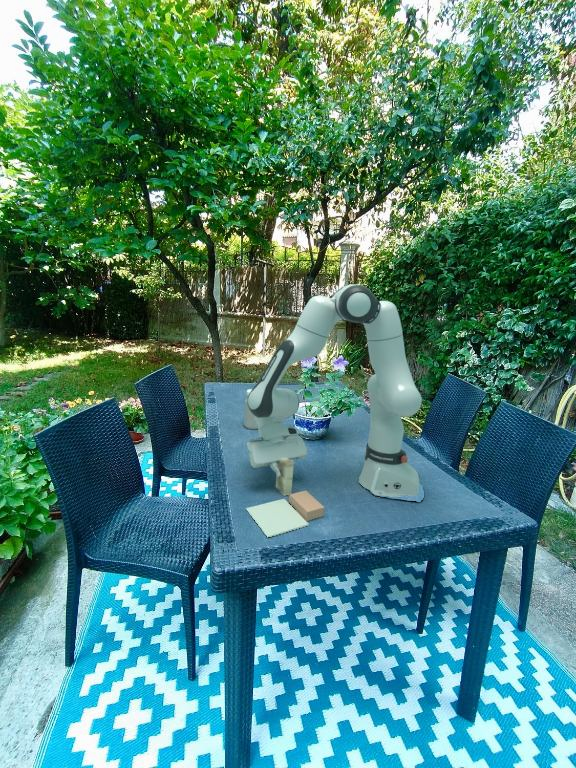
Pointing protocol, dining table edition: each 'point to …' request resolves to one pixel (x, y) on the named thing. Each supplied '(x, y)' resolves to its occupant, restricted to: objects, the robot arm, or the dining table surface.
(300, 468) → the dining table surface
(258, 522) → the rubber mat
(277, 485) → the birch block
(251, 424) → the jar
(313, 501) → the terracotta step
